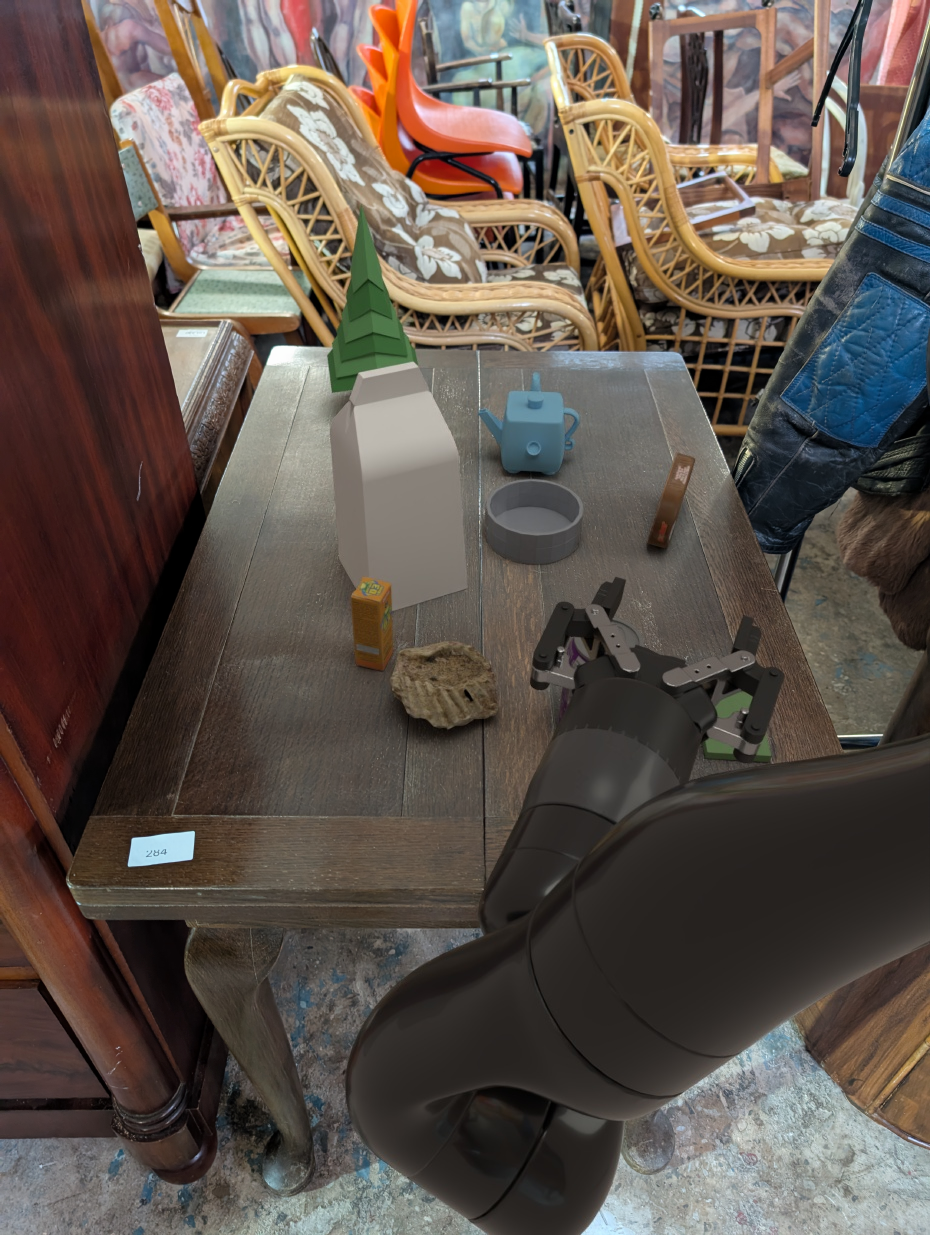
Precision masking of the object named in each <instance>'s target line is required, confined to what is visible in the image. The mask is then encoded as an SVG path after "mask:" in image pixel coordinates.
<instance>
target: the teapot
mask: <svg viewBox="0 0 930 1235" xmlns="http://www.w3.org/2000/svg"><path fill="white" fill-rule="evenodd" d="M529 388H530V389H529V390H511V391H509V393H508V395H507V400H506V404H505V409H504V414H503V418H502V420H500V419H499V418H498V417H497V416H496V415H494V413H493V412H491V410H489V409H488V407H486V408H481V409H477V410H478V412H477V414H478V416H479V417H480V419H481V421H482V422H483V424H484V426H486V428H487V429H488V431H489V432H490V434H491V435H492V437H493V438H494V440H495V441H496V443H497V445H499V446H500V447H499V448H500V457H501V458H500V459H501V463H502V467H503V469H504V470H505V471H506V472H508V473H510V474H518V473H520V472H521V471H522V472H541V474H543V475H546V476H552V475H554V474H556V473H557V472H559V471H560V469H561V467H562V464H563V460H564V454H565V451H571V450H572V449H574V447H575V445H576V442H575V441H576V440H575V439H574V437H573V438H572V436H573V435H574V434H575V433H576V431H577V429H578V428H579V425H580V423H581V422H580V421H581V418H580V415H579V414H578V412H577V411H576V410H575V409H573V408H570V407H564V399H563V395H562V394H561V393H560V392H555V391H554V392H553V391H542V389H541V375H540V373H539V372H536V371H535V372H534V373H533V374H532V377H531V384H530V387H529ZM565 415H568V416H570V417H572V418H573V419H574V420H573V423H572V425H571V427H570V428H569V429H568V430H567V432H566V419H565ZM567 442H569V443H568V444H567Z"/></svg>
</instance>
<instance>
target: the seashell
mask: <svg viewBox="0 0 930 1235" xmlns="http://www.w3.org/2000/svg"><path fill="white" fill-rule="evenodd" d="M396 655H397V656H396V662H395V666H394V668H393V671H392V675H391V676H390V680H389V681H390V683H389V684H390V687H391V692H392V693H393V696H394V697H395V698H396V699H397V700H399V701H401V702H402V704H403V706H404V709H405V710H406V713H407V714H408V715H409V716H410V717H411V718H413V719H420V718H421V719H424V720H426V721H428V722H429V723H430V724H431V726H432V727H435V728H438V729H447V730H450V729H452V728H454V727H462V726H465V725H468V724H469V723H470V722H473V721H474V720H480V719H483V720H485V719H489V718H490V717H495V716H497V713H498V712H499V704H498V693H497V691H498V690H497V688H496V684H495V683H496V682H497V681H498V676H497V675H496V674H495V672H493V666H492V664H490V663H489V662H488V661H487V659H486V658H485V656H484V655H483V654H482V653H480V652H479V651H478V650H476V649H475V647H474V646H473V645H471V644H465V643H463V642H461V641H456V640H455V641H451V640H445V641H440V642H437V643H431V644H428V645H424V646H420V647H417V646H416V647H410V648H404V649H401V650H399V651H398V653H397V654H396Z"/></svg>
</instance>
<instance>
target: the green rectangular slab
mask: <svg viewBox="0 0 930 1235" xmlns="http://www.w3.org/2000/svg"><path fill="white" fill-rule="evenodd" d="M752 698H753V697H752V696H751V695H749V694H747V693H746V692H744V691H741V692H739V693H736V694H734V695H732V696H729V697H727V698H725V699H722V700H721V701H720V702H719V703H718V704H717V705H716V706H715V708H716V710H717V714H718V717H719V718H728V717H730V716H731V714H732V713H733V712H735V711H740V709H741V708H742V707H745V708H748V709H749V706H750V703H751V701H752ZM701 745H702V749H703V753H704V759H706V760H707V759H708V760H724V761H727V760H728V761H738V760H737V759H736V758H735V757H734V755H733V751H734V747H731V746H729V745H726V744H724V743H721V742H719V741H716V740H714V739H711V738H709V739H708V740H706V741H705V742H703V743H702V744H701ZM771 759H772V752H771V749H770V745H769V741H768V737H767V733H766V734H765V736H764V739H763V741H762V743H761V745H760V748H759V750H758V752H757V754H756V757H755V759H754V761H753V762H759V763H769V762H770V760H771Z"/></svg>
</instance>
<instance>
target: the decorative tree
mask: <svg viewBox="0 0 930 1235" xmlns="http://www.w3.org/2000/svg"><path fill="white" fill-rule="evenodd" d="M365 214H366V213H365V211H364V208H363V204H360V209H359V214H358V220H357V226H356V232H355V233H356V234H355V239H354V244H353V245H354V246H353V250H352V256H351V262H350V269H349V270H350V272H349V273H350V281H349V284H348V288H347V291H346V295H345V298H346V299H345V300H346V302H345V305H344V307H343V309H342V312H341V321H340V322H339V325H338V326H337V328H336V336H335V338H334V339H333V341H332V342H331V347H332V348H331V350H330V351H329V352H328V353H327V355H326V359H327V366H328V371H329V372H328V374H329V383H330V391H331V394H335V393H343V392H349V391H351V392H352V390H353V387H354V384H355V381H356V378H357V376H358V373H360V372H365V371H369V370H374V369H379V368H384V367H389V366H394V365H399V364H404V363H409V362H414V363H415V364H416V365H417V366H418V367H419V363H418V357H417V352H416V348H415V347H414V346H413V345H412V344H411V341H410V337H409V336H408V335H407V334H406V332H405V331H404V325H403V323H402V322H401V320H400V319H399V318H398V315H397V310H396V308H395V306H394V304H393V303H392V301H391V298H390V291H389V290H388V288H387V286H386V283H385V280H384V278H383V272H382V266H381V263H380V262H381V261H380V260H379V257H378V252H377V250H376V246H375V244H374V240H373V237H372V234H371V230H370V227H369V224H368V220H367V217H366V215H365Z"/></svg>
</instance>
